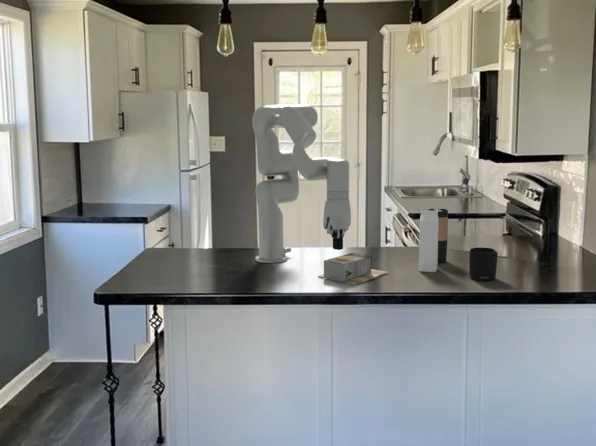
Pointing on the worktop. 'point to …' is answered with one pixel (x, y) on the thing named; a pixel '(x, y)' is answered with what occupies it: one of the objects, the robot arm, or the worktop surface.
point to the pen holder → (483, 264)
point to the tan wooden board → (361, 277)
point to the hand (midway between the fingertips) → (337, 248)
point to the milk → (428, 241)
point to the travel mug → (442, 234)
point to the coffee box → (347, 266)
